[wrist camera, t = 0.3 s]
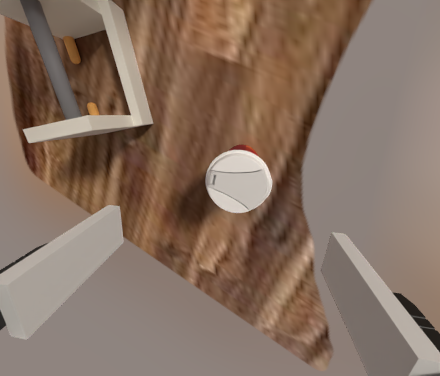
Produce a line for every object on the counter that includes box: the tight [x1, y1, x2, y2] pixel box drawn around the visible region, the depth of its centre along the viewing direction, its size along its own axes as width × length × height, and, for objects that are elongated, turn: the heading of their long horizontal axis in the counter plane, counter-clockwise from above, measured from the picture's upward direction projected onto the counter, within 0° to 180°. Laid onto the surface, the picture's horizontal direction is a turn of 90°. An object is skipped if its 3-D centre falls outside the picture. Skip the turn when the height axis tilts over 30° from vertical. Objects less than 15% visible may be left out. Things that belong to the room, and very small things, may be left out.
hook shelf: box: [0, 0, 153, 143], centre depth 31 cm, size 18×12×14 cm, turn 10°
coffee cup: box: [206, 145, 272, 213], centre depth 32 cm, size 8×8×15 cm
